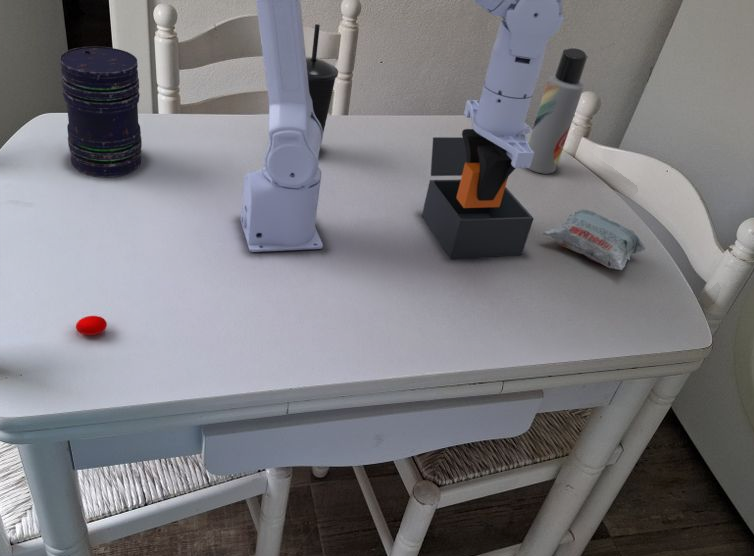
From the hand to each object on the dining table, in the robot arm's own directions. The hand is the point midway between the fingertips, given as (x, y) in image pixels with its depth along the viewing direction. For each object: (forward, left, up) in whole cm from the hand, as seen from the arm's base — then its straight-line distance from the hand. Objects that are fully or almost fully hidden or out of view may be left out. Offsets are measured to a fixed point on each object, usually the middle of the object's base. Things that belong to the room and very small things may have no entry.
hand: (480, 193), depth 89 cm
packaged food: (+19, -1, -10) cm, 22 cm away
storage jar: (-45, +28, -10) cm, 54 cm away
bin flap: (+3, +11, -1) cm, 12 cm away
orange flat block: (0, 0, -1) cm, 1 cm away
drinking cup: (-15, +31, -10) cm, 36 cm away
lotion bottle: (+25, +25, -10) cm, 37 cm away
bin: (+3, +5, -10) cm, 12 cm away
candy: (-47, -10, -10) cm, 49 cm away
